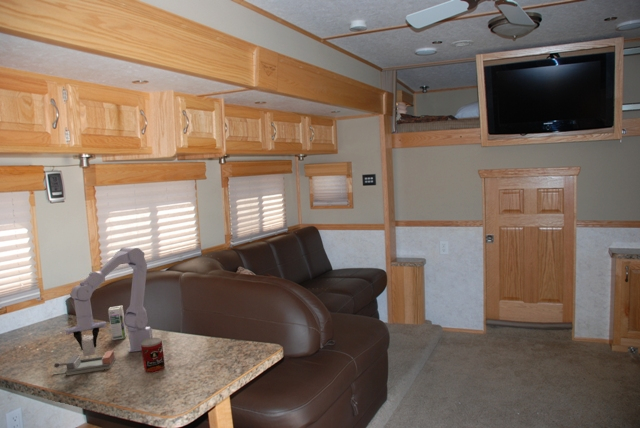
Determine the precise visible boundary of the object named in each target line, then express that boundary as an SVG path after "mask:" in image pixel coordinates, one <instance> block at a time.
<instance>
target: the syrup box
mask: <svg viewBox="0 0 640 428" xmlns="http://www.w3.org/2000/svg"><path fill="white" fill-rule="evenodd" d="M107 310H108V311H107V313H108V319H109V325H110V333H111V339H112V341H115V340H123V339H126V337H127V328H126V327H127V326H126V325H125V324H124V316H125V314H124V306H123V305H116V306H110V307H109V308H108V309H107Z"/></svg>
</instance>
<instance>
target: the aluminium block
mask: <svg viewBox="0 0 640 428" xmlns="http://www.w3.org/2000/svg"><path fill="white" fill-rule="evenodd" d="M82 348H83V350H82V354H83V355H82V356H83V357H89V356H92V355H96V348H97V347H95V348H94V339H93V334H88V335H85V336H82Z"/></svg>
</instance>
